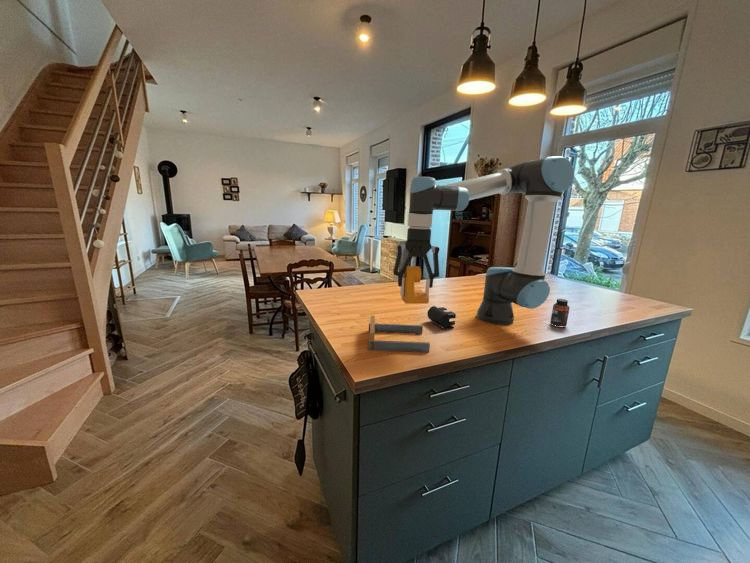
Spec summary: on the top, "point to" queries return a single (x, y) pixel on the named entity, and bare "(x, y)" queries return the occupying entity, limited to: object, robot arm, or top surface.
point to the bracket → (410, 293)
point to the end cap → (441, 317)
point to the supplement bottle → (560, 313)
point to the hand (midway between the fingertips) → (414, 296)
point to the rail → (396, 344)
